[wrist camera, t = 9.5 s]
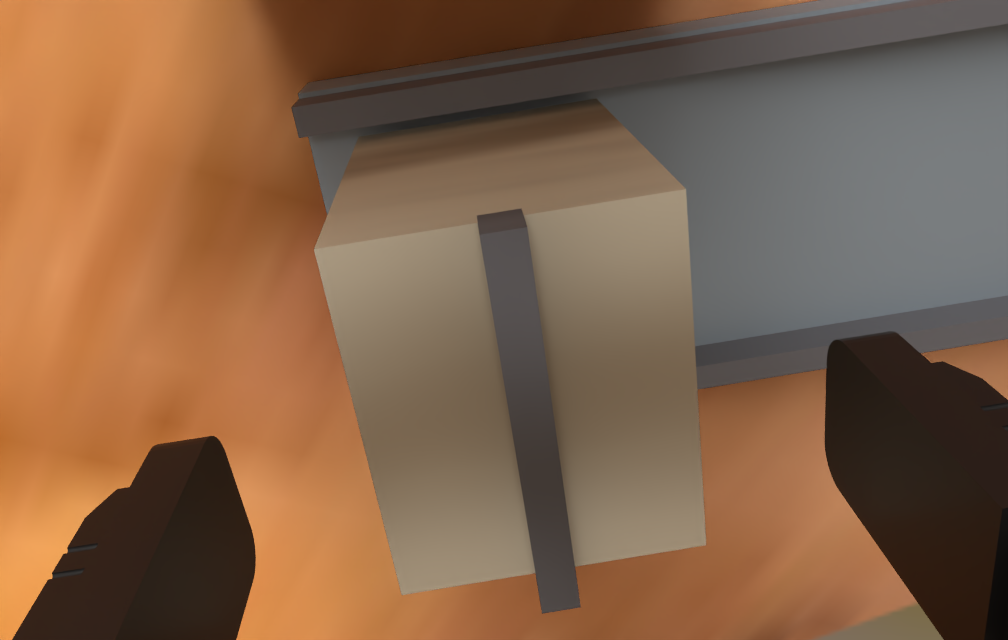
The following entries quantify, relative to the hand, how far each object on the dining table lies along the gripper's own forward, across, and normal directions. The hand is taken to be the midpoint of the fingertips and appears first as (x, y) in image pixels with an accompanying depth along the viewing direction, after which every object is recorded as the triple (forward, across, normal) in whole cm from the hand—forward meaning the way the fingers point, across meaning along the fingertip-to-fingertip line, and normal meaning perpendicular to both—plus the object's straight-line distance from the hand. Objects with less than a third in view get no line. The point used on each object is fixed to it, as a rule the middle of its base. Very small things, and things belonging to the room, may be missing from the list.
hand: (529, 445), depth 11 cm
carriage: (+8, 0, 0) cm, 8 cm away
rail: (+10, -6, 0) cm, 12 cm away
